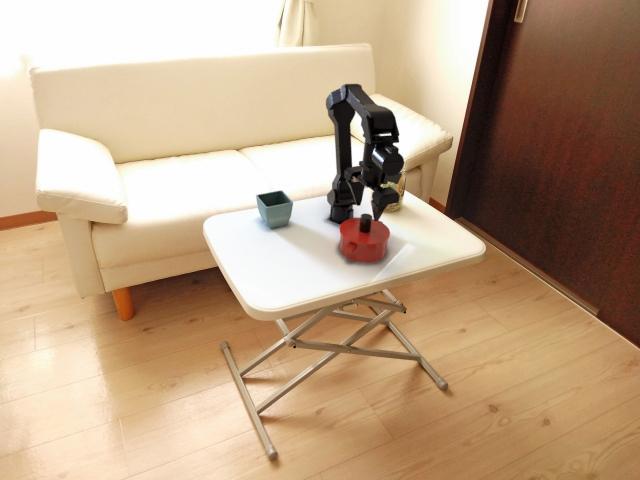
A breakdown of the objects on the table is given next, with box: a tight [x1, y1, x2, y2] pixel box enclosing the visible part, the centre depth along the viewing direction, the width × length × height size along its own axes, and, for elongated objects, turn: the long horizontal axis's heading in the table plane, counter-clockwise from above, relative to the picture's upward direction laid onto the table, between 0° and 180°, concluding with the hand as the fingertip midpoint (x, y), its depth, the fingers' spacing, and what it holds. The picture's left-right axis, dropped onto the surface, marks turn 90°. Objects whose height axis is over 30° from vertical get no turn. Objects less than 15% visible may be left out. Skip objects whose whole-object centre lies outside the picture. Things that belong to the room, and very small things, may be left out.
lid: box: [338, 213, 391, 246], centre depth 126 cm, size 14×14×6 cm
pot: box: [338, 220, 389, 264], centre depth 129 cm, size 13×19×6 cm
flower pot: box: [255, 189, 294, 229], centre depth 138 cm, size 9×9×9 cm
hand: (367, 212), depth 124 cm, fingers open, 9 cm apart
